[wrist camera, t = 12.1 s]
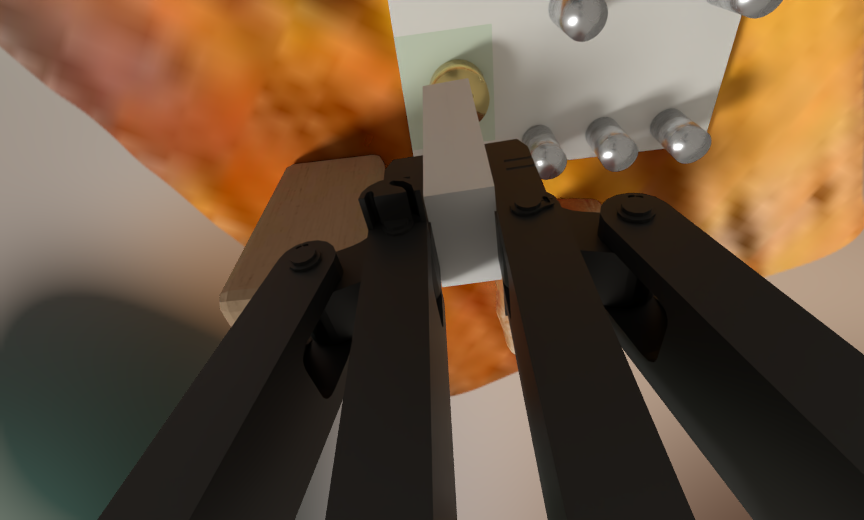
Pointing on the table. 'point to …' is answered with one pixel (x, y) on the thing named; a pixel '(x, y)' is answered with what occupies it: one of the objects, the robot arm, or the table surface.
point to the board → (568, 64)
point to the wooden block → (303, 220)
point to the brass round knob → (462, 71)
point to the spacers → (685, 140)
